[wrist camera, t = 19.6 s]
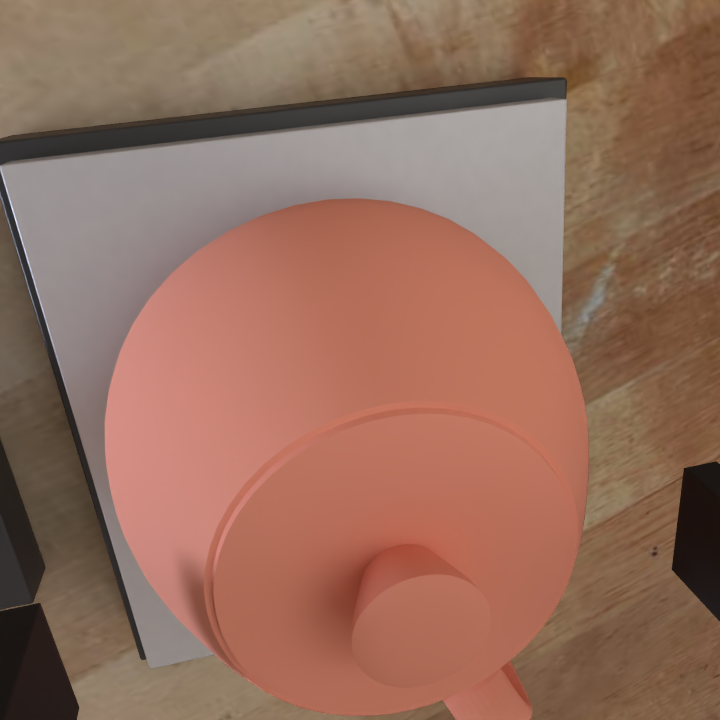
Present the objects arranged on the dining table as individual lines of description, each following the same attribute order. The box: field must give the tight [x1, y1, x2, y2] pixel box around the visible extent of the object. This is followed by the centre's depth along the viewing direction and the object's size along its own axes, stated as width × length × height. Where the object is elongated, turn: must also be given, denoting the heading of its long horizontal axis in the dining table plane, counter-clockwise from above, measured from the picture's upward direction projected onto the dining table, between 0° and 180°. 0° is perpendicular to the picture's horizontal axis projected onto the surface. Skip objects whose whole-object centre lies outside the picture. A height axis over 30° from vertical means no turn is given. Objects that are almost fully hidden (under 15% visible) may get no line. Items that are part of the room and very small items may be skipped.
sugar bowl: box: [104, 198, 589, 720], centre depth 17 cm, size 12×14×10 cm
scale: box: [0, 77, 567, 669], centre depth 23 cm, size 18×16×4 cm
